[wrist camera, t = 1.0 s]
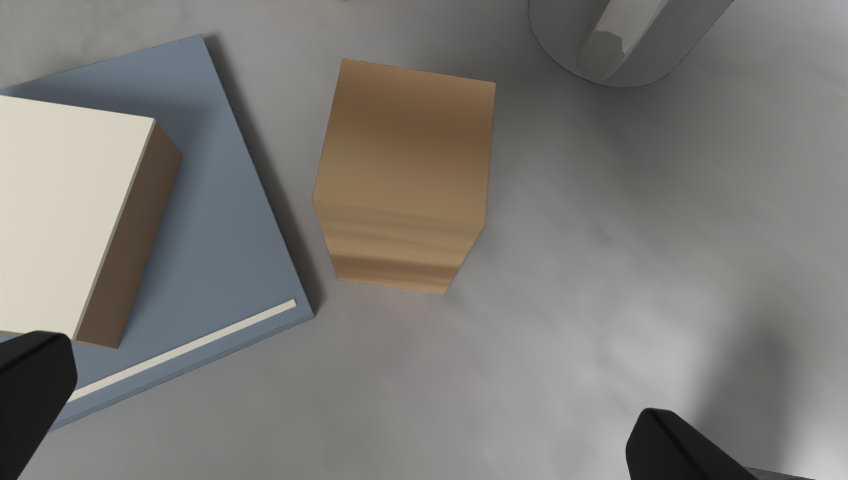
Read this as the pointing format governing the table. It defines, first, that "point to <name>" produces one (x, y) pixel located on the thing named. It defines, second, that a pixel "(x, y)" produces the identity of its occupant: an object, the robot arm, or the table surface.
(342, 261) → the oak post
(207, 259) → the board
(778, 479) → the pill bottle
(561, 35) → the coffee mug
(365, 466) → the table surface
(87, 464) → the table surface
